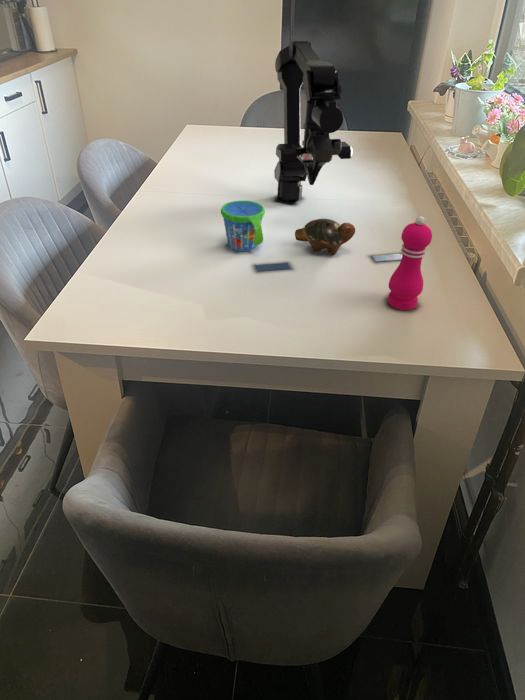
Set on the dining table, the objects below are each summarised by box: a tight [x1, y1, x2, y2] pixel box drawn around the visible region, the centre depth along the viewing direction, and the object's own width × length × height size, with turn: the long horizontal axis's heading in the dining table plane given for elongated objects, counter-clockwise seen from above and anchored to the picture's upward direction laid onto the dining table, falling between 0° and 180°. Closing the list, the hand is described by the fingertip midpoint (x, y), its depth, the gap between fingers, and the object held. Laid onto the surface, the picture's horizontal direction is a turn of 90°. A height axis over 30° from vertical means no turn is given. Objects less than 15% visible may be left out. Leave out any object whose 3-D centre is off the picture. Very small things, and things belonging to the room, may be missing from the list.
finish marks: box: [255, 253, 402, 273], centre depth 133 cm, size 3×38×1 cm, turn 103°
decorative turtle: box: [294, 218, 356, 256], centre depth 137 cm, size 10×15×8 cm, turn 80°
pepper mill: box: [387, 215, 433, 311], centre depth 113 cm, size 7×7×20 cm
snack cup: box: [220, 200, 266, 252], centre depth 136 cm, size 16×10×10 cm
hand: (311, 184), depth 142 cm, fingers closed
